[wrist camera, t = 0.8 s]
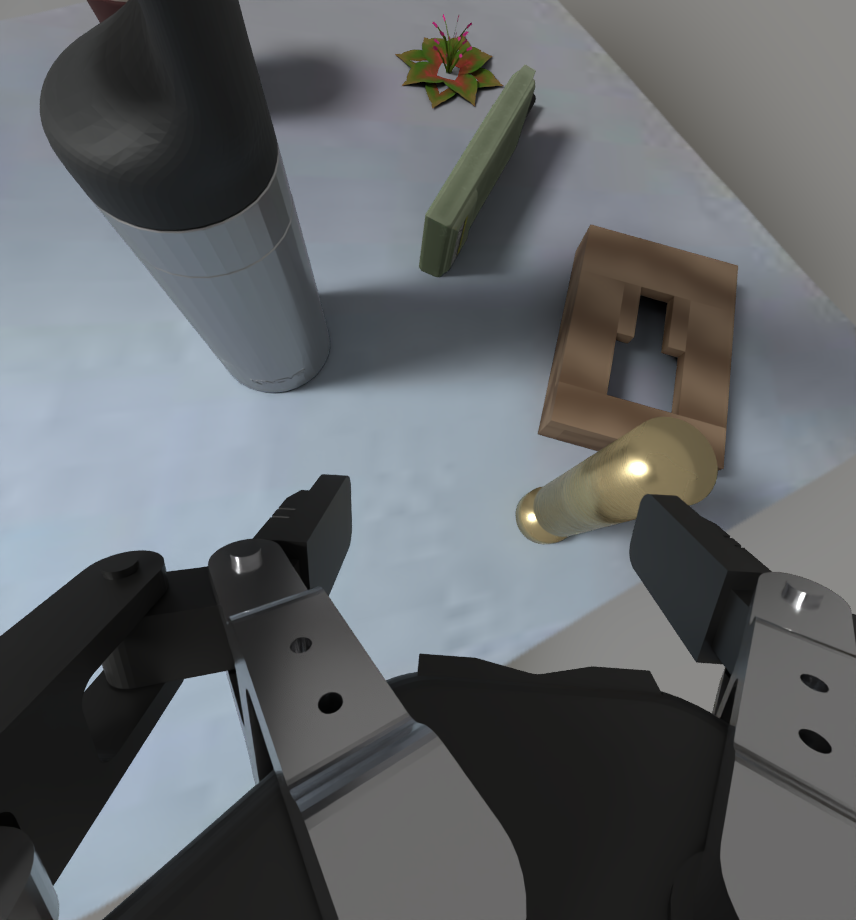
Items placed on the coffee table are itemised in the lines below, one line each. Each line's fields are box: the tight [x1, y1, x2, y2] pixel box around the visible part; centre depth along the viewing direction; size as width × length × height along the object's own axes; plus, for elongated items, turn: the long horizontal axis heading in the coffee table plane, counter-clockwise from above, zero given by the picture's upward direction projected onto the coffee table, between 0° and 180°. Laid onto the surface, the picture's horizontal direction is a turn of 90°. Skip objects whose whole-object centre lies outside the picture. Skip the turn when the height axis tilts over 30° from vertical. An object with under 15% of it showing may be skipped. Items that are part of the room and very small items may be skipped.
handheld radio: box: [419, 65, 536, 277], centre depth 41 cm, size 7×3×25 cm
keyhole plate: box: [538, 225, 738, 470], centre depth 38 cm, size 20×14×3 cm
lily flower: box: [395, 14, 503, 109], centre depth 46 cm, size 12×12×5 cm
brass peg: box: [516, 417, 718, 544], centre depth 27 cm, size 4×4×17 cm
